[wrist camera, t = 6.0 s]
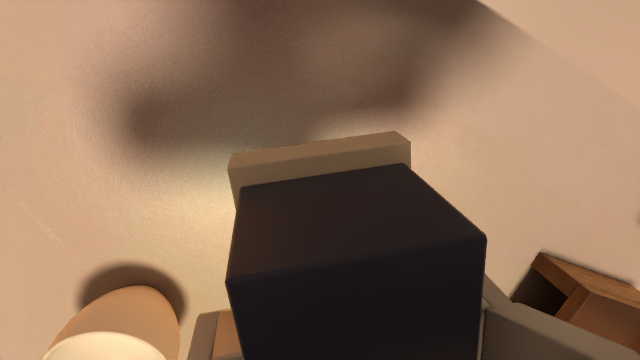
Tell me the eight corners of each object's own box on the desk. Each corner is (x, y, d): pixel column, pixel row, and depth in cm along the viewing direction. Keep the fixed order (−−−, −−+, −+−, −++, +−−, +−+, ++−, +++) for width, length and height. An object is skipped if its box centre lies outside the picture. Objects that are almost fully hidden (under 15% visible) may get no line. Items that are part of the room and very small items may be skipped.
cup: (206, 284, 29) (191, 353, 23) (160, 372, 31) (134, 455, 25) (106, 250, 27) (57, 316, 20) (65, 348, 29) (11, 433, 23)
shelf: (539, 252, 33) (615, 310, 26) (630, 284, 36) (719, 344, 29) (466, 357, 36) (515, 434, 29) (554, 378, 39) (616, 452, 32)
